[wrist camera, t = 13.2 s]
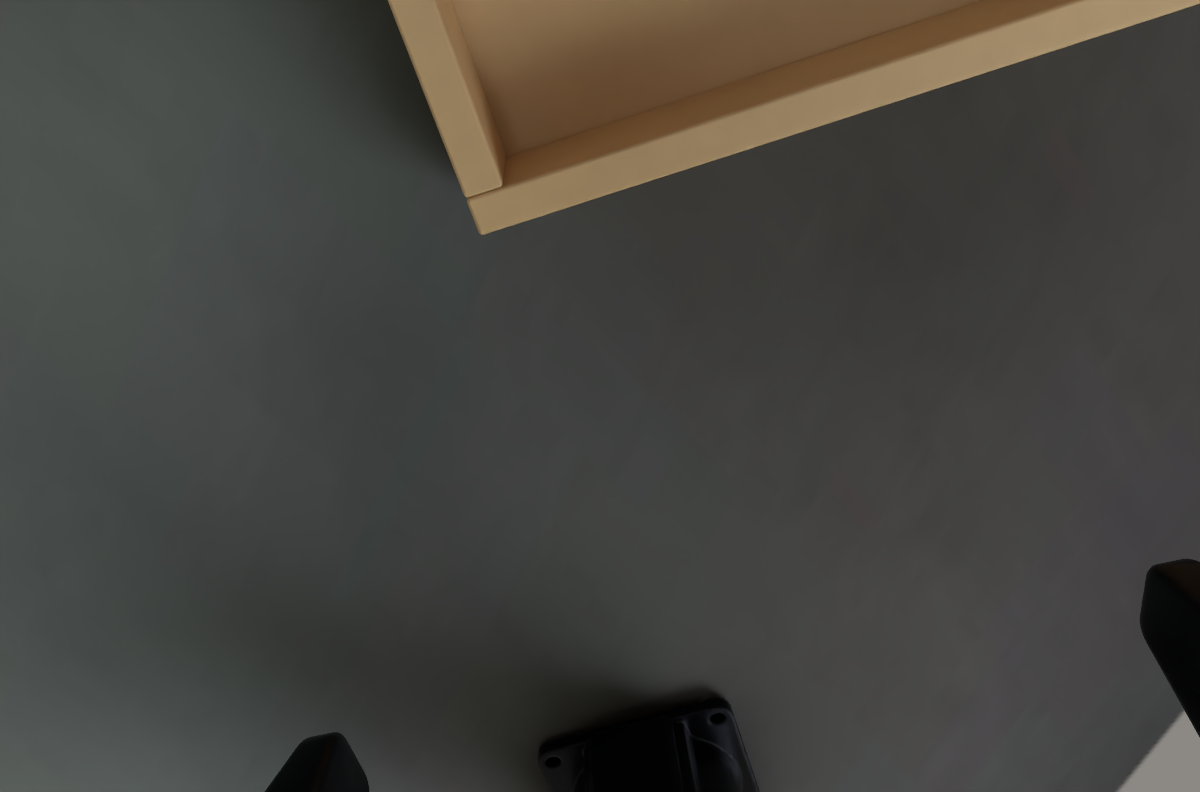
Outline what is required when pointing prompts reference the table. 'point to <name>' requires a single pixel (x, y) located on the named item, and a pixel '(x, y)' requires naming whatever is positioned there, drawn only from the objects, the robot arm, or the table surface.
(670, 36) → the tray
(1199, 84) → the table surface
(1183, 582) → the robot arm
